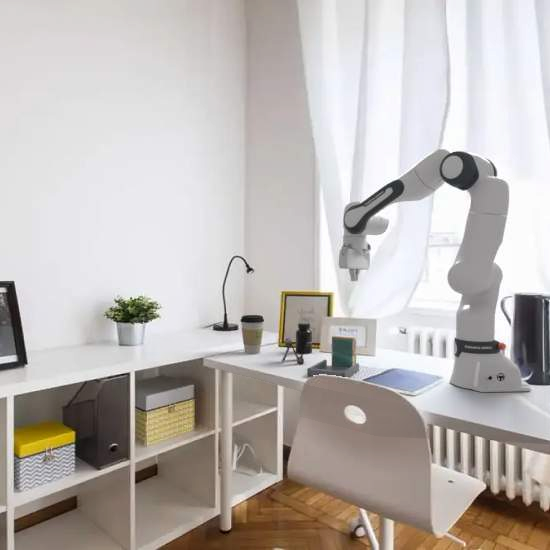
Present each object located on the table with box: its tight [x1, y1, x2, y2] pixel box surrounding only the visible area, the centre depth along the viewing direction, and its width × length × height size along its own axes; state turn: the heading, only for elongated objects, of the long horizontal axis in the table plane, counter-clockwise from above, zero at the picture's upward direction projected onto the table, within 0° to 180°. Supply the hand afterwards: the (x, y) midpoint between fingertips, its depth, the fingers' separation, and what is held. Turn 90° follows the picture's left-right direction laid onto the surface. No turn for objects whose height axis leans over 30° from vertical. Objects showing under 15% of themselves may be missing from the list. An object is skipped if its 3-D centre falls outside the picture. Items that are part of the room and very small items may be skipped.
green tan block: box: [331, 334, 357, 368], centre depth 174 cm, size 4×8×11 cm, turn 62°
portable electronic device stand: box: [281, 337, 305, 365], centre depth 183 cm, size 9×8×8 cm
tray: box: [307, 359, 360, 378], centre depth 166 cm, size 13×15×2 cm
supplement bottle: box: [295, 322, 313, 355], centre depth 200 cm, size 7×7×12 cm
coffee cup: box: [239, 314, 265, 355], centre depth 200 cm, size 10×10×15 cm
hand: (354, 281), depth 186 cm, fingers closed
